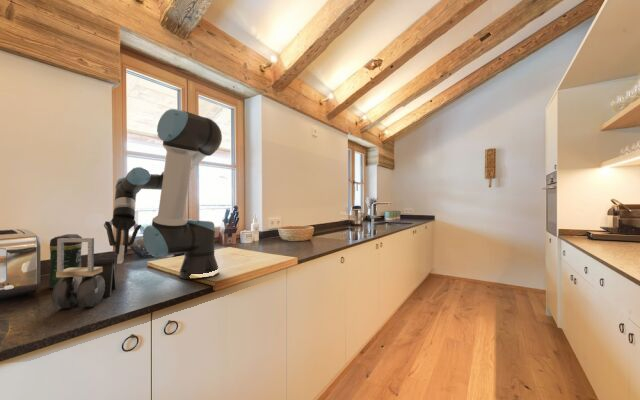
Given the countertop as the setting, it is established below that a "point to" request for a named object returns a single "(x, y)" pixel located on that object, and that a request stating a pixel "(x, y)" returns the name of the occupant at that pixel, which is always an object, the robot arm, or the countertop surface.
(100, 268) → the trolley deck
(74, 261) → the coffee jar
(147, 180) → the robot arm
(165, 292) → the countertop surface
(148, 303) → the countertop surface
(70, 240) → the trolley
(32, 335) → the countertop surface
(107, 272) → the dark grey bin
